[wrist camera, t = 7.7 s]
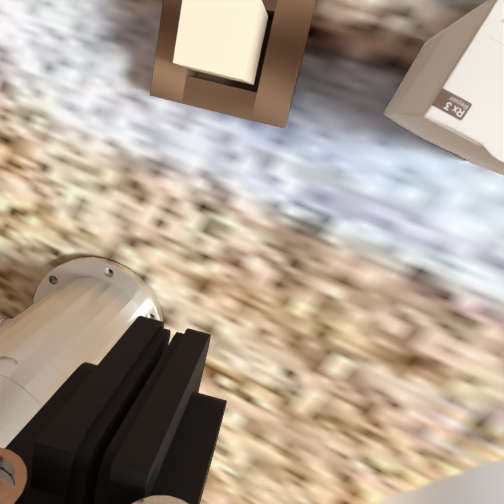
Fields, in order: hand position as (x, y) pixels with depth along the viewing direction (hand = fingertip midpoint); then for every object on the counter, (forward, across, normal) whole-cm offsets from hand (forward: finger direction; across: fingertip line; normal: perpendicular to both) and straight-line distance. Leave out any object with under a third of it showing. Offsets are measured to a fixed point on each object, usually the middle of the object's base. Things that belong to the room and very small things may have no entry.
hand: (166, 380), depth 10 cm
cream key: (+24, +5, -9) cm, 26 cm away
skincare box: (+27, -11, -9) cm, 31 cm away
